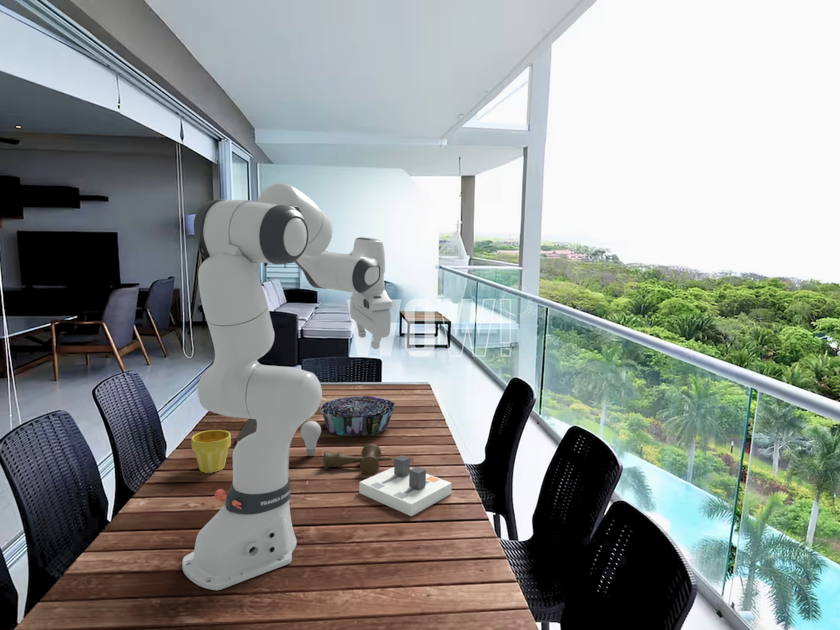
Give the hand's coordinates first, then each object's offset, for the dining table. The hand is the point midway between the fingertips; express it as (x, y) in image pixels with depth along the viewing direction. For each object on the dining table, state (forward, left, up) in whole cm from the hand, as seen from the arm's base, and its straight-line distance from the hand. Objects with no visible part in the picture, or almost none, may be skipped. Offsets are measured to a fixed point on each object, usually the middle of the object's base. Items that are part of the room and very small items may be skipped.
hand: (368, 342), depth 146 cm
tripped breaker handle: (-5, -23, -34) cm, 41 cm away
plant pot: (-31, +32, -37) cm, 58 cm away
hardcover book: (-3, +47, -38) cm, 60 cm away
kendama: (-2, +2, -38) cm, 38 cm away
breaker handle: (-2, -15, -34) cm, 37 cm away
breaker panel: (-5, -19, -37) cm, 42 cm away
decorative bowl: (+23, +28, -38) cm, 52 cm away
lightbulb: (-6, +19, -37) cm, 42 cm away
